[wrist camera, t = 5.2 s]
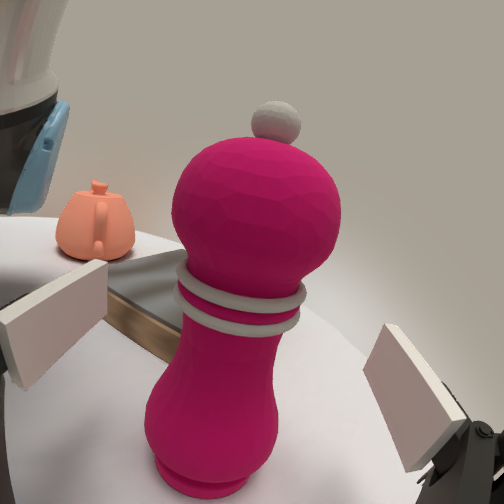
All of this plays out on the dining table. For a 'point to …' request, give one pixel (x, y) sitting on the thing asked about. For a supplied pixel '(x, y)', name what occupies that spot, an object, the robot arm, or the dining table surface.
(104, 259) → the teapot
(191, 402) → the pepper mill
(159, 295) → the walnut stand
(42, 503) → the dining table surface
